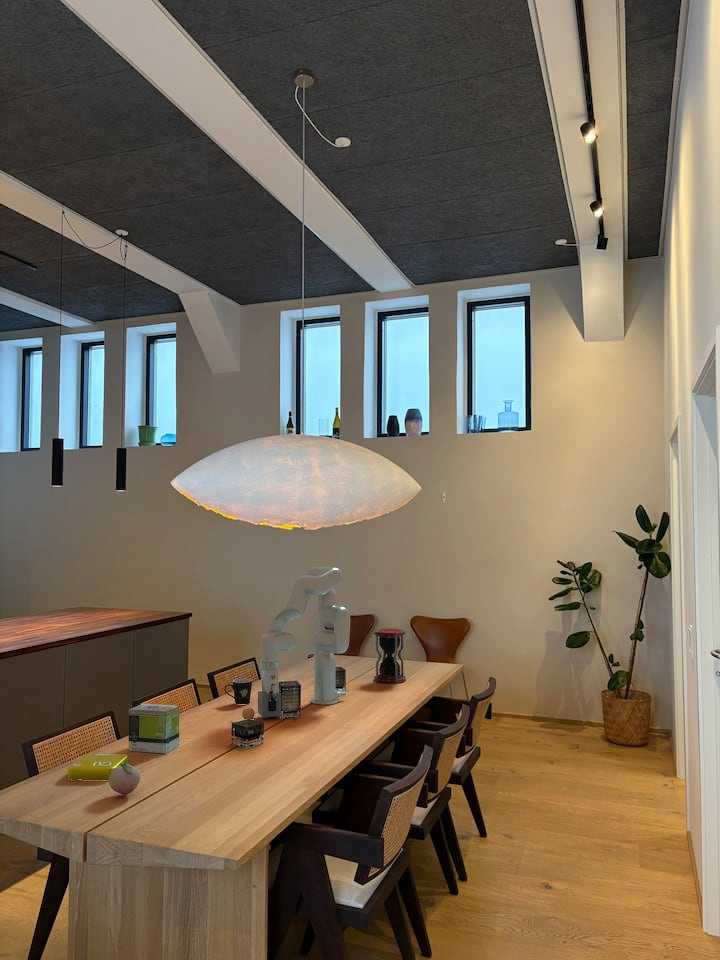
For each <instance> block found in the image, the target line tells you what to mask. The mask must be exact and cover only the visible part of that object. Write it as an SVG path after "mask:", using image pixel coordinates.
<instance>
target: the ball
mask: <svg viewBox="0 0 720 960" xmlns="http://www.w3.org/2000/svg"><path fill="white" fill-rule="evenodd" d="M255 714H256V713H255V711H254V709H253V708H252V707H246V708H244V709H243V710H242V713H241V715H242V716H241V717H243V718H244V719H253V718H255Z"/></svg>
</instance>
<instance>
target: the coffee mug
mask: <svg viewBox="0 0 720 960" xmlns="http://www.w3.org/2000/svg"><path fill="white" fill-rule="evenodd" d="M252 686H253V679H250V678H236V679H233V680H232V684H231V683H230V684H227V685H224V687H223V689H224V693H226V695H228V696H229V697H231V698H233V699H234V704H235V703H236V704H248V703H251V696H252V695H251V694H252V689H253V688H252ZM227 687H231V688H232V689H233V695H232V694H230V693H229V692H227V689H226V688H227ZM236 704H235V705H236ZM248 705H249V704H248Z"/></svg>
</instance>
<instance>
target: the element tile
mask: <svg viewBox="0 0 720 960" xmlns="http://www.w3.org/2000/svg"><path fill="white" fill-rule="evenodd" d="M128 758H129V757H128V754H125V753H84V755H82V756H81V757H80V758H78V759H76V760H75V761H74V762H72V764H71V765H69V766H68V767H67V780H68V779H69V780H71V779H72V780H78V779H82V780H109V775H110V773H111V771H112V770H113V769H114V768H116V767H117V766H119V763H123V762H125V761H126V763H127V764H129V763H128V761H129V760H128ZM69 780H68V781H69Z"/></svg>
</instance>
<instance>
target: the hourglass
mask: <svg viewBox="0 0 720 960" xmlns="http://www.w3.org/2000/svg"><path fill="white" fill-rule="evenodd" d="M373 635H375V651H376V653H377V655H378V658H377V660H376V662H375V676H373V681H374V682H376V683H378V684H388V685H389V684H390V685H391V684H401V682H402V683H404V681H405V682H406V681H407V679H406V678H407V677H406V676H405V674H404V660H403V658H402V655H401V654H402V650H403V649H404V636H405V635H406V630H405V629H403V628H377V629H374V630H373ZM379 647H380V648H381V650H382V652H383V655H382V653H381V651H380V650H379ZM399 647H400V649H399ZM398 649H399V650H398ZM397 656H398V659H399V660H400V663H399V662H398V661H397ZM381 659H382V661H381ZM380 661H381V662H380Z"/></svg>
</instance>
